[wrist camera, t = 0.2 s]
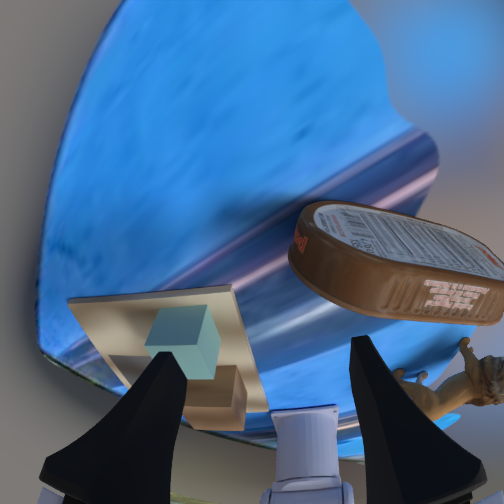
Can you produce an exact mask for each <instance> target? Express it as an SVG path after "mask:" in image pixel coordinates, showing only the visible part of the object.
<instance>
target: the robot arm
mask: <svg viewBox="0 0 504 504" xmlns="http://www.w3.org/2000/svg"><path fill="white" fill-rule="evenodd" d="M349 372H350V380H351V388H352V394H353V398H354V402H355V407H356V411H357V415H358V420H359V424H360V429H361V433H362V438H363V445H364V454H365V465H366V487H367V504H470V500H471V499H472V498H473V497H472V491H473V490H475V489H477V488H479V487H480V486H482V485H484V484H485V483H486V482H487V476H486V472H485V469H484V466H483V464H482V462H481V460H480V459H478V458H477V457H476V456H474V455H473V454H471V453H470V452H468V451H467V450H465V449H464V448H462V447H461V446H460V445H459V444H457V443H456V442H455V441H454V440H452V439H451V438H450V437H449V436H448V435H446V434H445V433H444V432H443V431H442V430H441V429H440V428H439V427H438V426H436V425H435V424H434V423H433V422H432V421H431V420H430V419H429V418H428V417H427V416H426V415H425V414H424V412H423V411H422V410H421V409H420V408H419V407H418V406H417V405H416V404H415V403H414V401H413V400H412V399H411V398H410V397H409V395H408V394H407V393H406V392H405V390H404V389H403V388H402V386H401V385H400V384H399V382H398V381H397V380H396V378H395V377H394V375H393V374H392V373H391V371H390V370H389V368H388V367H387V365H386V364H385V362H384V361H383V359H382V358H381V356H380V355H379V353H378V351H377V350H376V348H375V346H374V344H373V343H372V341H371V339H370V337H369V336H367V335H365V336H358V337H352V338H351V352H350V364H349ZM187 382H188V379H187V377H186V376H185V374H184V372H183V371H182V369H181V367H180V366H179V364H178V362H177V360H176V359H175V357H174V355H173V353H172V352H171V351H159V352H158V353H157V354H156V355H155V357H154V358H153V359H152V361H151V362H150V363H149V365H148V366H147V367H146V368H145V370H144V371H143V372H142V374H141V375H140V376H139V378H138V379H137V380H136V381H135V383H134V384H133V385H132V386H131V388H130V389H129V390H128V391H127V393H126V394H125V395H124V396H123V397H122V398H121V400H120V401H119V402H118V403H117V404H116V405H115V406H114V408H113V409H112V410H111V411H110V412H109V413H108V414H107V415H106V416H105V417H104V418H103V419H101V421H99V422H98V423H97V424H96V425H95V426H94V427H93V428H91V429H90V430H89V431H88V432H86V433H85V434H84V435H83V436H81V437H80V438H78V439H77V440H76V441H74V442H73V443H71V444H70V445H69V446H67V447H65V448H63V449H62V450H60V451H58V452H56V453H54V454H52V455H50V456H48V457H47V458H46V460H45V462H44V465H43V468H42V470H41V473H40V476H39V479H40V480H41V481H42V482H44V483H46V484H48V485H49V486H51V487H53V488H55V489H57V490H59V491H60V492H63V493H64V494H65V496H64V498H63V497H61V496H59V495H57V494H55V493H53V492H52V491H49V490H48V489H46V488H42V491H41V494H40V497H39V500H38V503H37V504H170V482H171V468H172V459H173V450H174V445H175V440H176V436H177V433H178V429H179V425H180V421H181V417H182V413H183V409H184V404H185V400H186V392H187ZM338 414H339V406H337V405H333V406H325V407H317V408H307V409H297V410H284V411H273V412H271V418H272V421H273V424H274V427H275V430H276V433H277V464H276V482H275V483H272V488H270V489H267V490H266V491H265V492H264V493H263V494H262V496H261V499H260V504H354V497H353V489H352V486H351V485H350V484H348V483H347V482H342V488H341V477H339V465H338V452H337V440H336V433H337V424H338ZM474 504H504V497H503V492H502V491H501V490H500V491H498V492H496V493H495V494H493V495H491V496H489V497H487V498H485V499H483V500H481V501H479V502H476V503H474Z"/></svg>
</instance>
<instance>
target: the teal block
mask: <svg viewBox="0 0 504 504" xmlns="http://www.w3.org/2000/svg"><path fill="white" fill-rule="evenodd" d="M220 344H221V339H220V336H219V334H218V331H217V328H216V326H215V323H214V321H213V318H212V315H211V313H210V310H209V307H208V305H195V306H182V307H168V308H160V309H159V311H158V314H157V316H156V318H155V321H154V323H153V325H152V328H151V330H150V332H149V335H148V337H147V340H146V342H145V344H144V346H145V348H146V350H147V351H148V353H149V354H150V356H151V358H152V359H153V358H154V357H155V355H156V354H157V353H158V352H159V351H171V352H172V353H173V355H174V357H175V359H176V360H177V362H178V364H179V366H180V367H181V369H182V371H183V372H184V374H185V376H186V377H187V379H214V376H215V370H216V365H217V360H218V354H219V349H220Z"/></svg>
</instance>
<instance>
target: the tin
mask: <svg viewBox="0 0 504 504" xmlns="http://www.w3.org/2000/svg"><path fill="white" fill-rule="evenodd" d="M288 260H289V263H290V266H291V268H292V270H293V271H294V273H295V274H296V275H297V276H298V278H299V279H300V280H301V281H302V282H303V283H304V284H305V285H306V286H307V287H309V288H310V289H311V290H312V291H314V292H315V293H317V294H318V295H320V296H321V297H323V298H325V299H327V300H329V301H330V302H332V303H334V304H336V305H338V306H341V307H343V308H346V309H348V310H351V311H353V312H356V313H360V314H363V315H368V316H372V317H378V318H386V319H398V320H409V321H420V322H434V323H448V324H462V325H478V326H490V325H494V324H496V323H498V322H499V321H500V320H501V318H502V316H503V312H504V263H503V262H502V261H501V260H500V259H499V258H498V257H497V256H496V255H495V254H493V253H492V251H491V250H490V249H489V248H488V247H487V246H486V245H484V244H483V243H481V242H479V241H478V240H476V239H475V238H473V237H471V236H469V235H467V234H465V233H463V232H461V231H458V230H456V229H453V228H451V227H448V226H445V225H441V224H438V223H434V222H431V221H427V220H423V219H420V218H416V217H413V216H409V215H405V214H401V213H397V212H393V211H388V210H384V209H380V208H375V207H371V206H366V205H361V204H357V203H350V202H343V201H319V202H314V203H311V204H309V205H307V206H306V207H305V208H304V209H303V210H302V212H301V213H300V215H299V218H298V221H297V225H296V230H295V234H294V239H293V243H292V245H291V246H290V248H289V251H288Z"/></svg>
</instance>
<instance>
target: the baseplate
mask: <svg viewBox="0 0 504 504" xmlns="http://www.w3.org/2000/svg"><path fill="white" fill-rule="evenodd" d="M67 305H68V307H69V308H70V310H71V311H72V313H73V315H74V316H75V318H76V319H77V321H78V322H79V324H80V325H81V327H82V328H83V330H84V331H85V333H86V334H87V336H88V337H89V339H90V340H91V341H92V343H93V344H94V346H95V347H96V349H97V350H98V351H99V353H100V354H101V355H102V357H103V358H104V359H105V361H106V362H107V363H108V365H109V366H110V367H111V369H112V370H113V371H114V372H115V374H116V375H117V376H118V377H119V379H120V380H121V381H122V382H123V384H124V385H125V386H126V387H127V388H128V390H129V389H130V388H131V386H132V385H133V384H134V383H135V381H136V380H137V379H138V378H139V376H140V375H141V374H142V372H143V371H144V370H145V368H146V367H147V366H148V365H149V363H150V362H151V361H152V358H151V356H150V354H149V353H148V351H147V350H146V348H145V346H144V344H145V342H146V340H147V337H148V335H149V332H150V330H151V328H152V325H153V323H154V321H155V318H156V316H157V314H158V311H159V309H160V308H168V307H182V306H195V305H208V307H209V310H210V313H211V315H212V318H213V321H214V323H215V326H216V328H217V331H218V334H219V336H220V339H221V344H220V349H219V354H218V360H217V365H216V366H225V365H237V367H238V370H239V372H240V375H241V378H242V380H243V383H244V385H245V388H246V390H247V392H248V395H247V406H246V413H247V412H269V404H268V401H267V398H266V395H265V392H264V389H263V386H262V383H261V380H260V376H259V373H258V370H257V367H256V364H255V360H254V357H253V354H252V351H251V347H250V344H249V341H248V338H247V334H246V331H245V328H244V324H243V321H242V318H241V314H240V311H239V308H238V304H237V301H236V298H235V294H234V291H233V287H232V285H224V286H214V287H204V288H194V289H184V290H173V291H163V292H151V293H140V294H128V295H115V296H101V297H87V298H72V299H70V300H69V302H68V303H67Z"/></svg>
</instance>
